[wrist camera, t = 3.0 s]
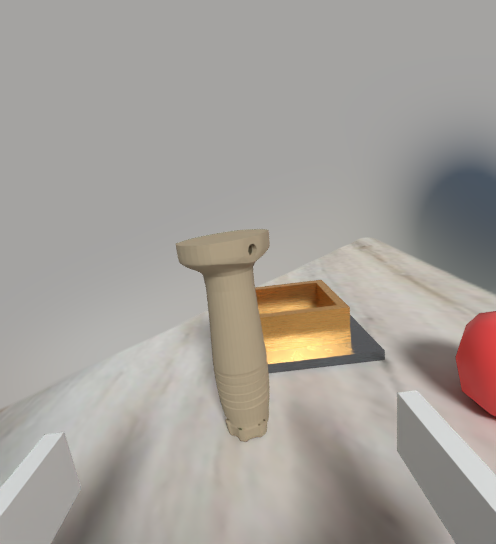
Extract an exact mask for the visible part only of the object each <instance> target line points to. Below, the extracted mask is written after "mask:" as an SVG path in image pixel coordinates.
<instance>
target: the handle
mask: <svg viewBox="0 0 496 544" xmlns="http://www.w3.org/2000/svg"><path fill="white" fill-rule="evenodd" d="M268 248H269V232H268V230H265V229H254V230H253V229H252V230H237V231H230V232H223V233H217V234H212V235H206V236H201V237H197V238H192V239H188V240H185V241H182V242H180V243H176V249H177V254H178V259H179V262H180V263H181V264H182V265H184V266H185V267H187V268H190V269H193V270H196V271H198V272H200V273H202V274H203V276H204V281H205V285H206V291H207V301H208V311H209V320H210V331H211V343H212V354H213V365H214V372H215V378H216V383H217V388H218V393H219V397H220V400H221V404H222V407H223V410H224V413H225V415H226V417H227V419H226V424H227V427H228V430H229V432H230V434H231V435H234V436H237V437H238V438H240V440H241V441H244V442H247V441H248V440H250V439H252V438H255V437H262V436H263V435H264V434H265V433H266V431H267V421H268V417H269V373H268V363H267V354H266V349H265V343H264V338H263V332H262V326H261V321H260V315H259V309H258V303H257V297H256V291H255V285H254V276H253V266H254V263H255V261H257V260H258V259H259V258H260V257H261V256H262V255H263V254H264V253H265V252H266V251H267V250H268Z"/></svg>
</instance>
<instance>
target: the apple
mask: <svg viewBox="0 0 496 544" xmlns="http://www.w3.org/2000/svg"><path fill="white" fill-rule="evenodd" d="M456 363H457V368H458V373H459V378H460V383H461V389H462V391H463V392H464V393H465V394H466V395H468V396H469V397H470V398H471V399H473V400H474V401H475V402H476V403H477V404H479V405H480V406H481V407H482V408H484V409H485V410H486V411H487V412H489V413H490V414H491V415H493V416H495V417H496V311H493V312H486V313H479V314H478V315H477V316H476V317H475V318H474V319H472V320H471V321H470V322H469V323H468V324H467V325H466V327H465V330H464V333H463V336H462V339H461V342H460V345H459V348H458V351H457V354H456Z"/></svg>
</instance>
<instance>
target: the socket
mask: <svg viewBox="0 0 496 544" xmlns="http://www.w3.org/2000/svg"><path fill="white" fill-rule="evenodd" d="M255 291H256V297H257V303H258V309H259V315H260V321H261V326H262V332H263V338H264V343H265V349H266V354H267V363H268V373H274V372H282V371H291V370H300V369H308V368H317V367H325V366H334V365H342V364H351V363H359V362H368V361H376V360H385V351H384V349H383V348H382V347H381V346H380V345H379V344H378V343H377V342H376V341H375V340H374V339H373V338H372V337H371V336H370V335H369V334H368V333H367V332H366V331H365V330H364V329H363V328H362V327H361V326H360V325H359V324H358V323H357V321H356V320H355V319H354V318H353V317H352V316H351V315H350V307H349V306H348V305H347V304H346V303H345V302H344V301H343V300H342V299H340V298H339V297H338V296H337V295H336V294H335V293H334V292H333V291H332V290H331V289H330V288H329V287H328V286H327V285H326V284H325V283H324V282H323V281H322V280H316V281H307V282H299V283H290V284H282V285H273V286H265V287H256V288H255Z"/></svg>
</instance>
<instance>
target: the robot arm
mask: <svg viewBox="0 0 496 544" xmlns="http://www.w3.org/2000/svg"><path fill="white" fill-rule="evenodd" d="M397 451H398V453H399V454H400V456H401V458H402V459H403V461H404V462H405V464H406V465H407V467H408V469H409V470H410V472H411V473H412V475H413V477H414V478H415V480H416V481H417V483H418V485H419V486H420V488H421V489H422V491H423V492H424V494H425V496H426V497H427V499H428V500H429V502H430V504H431V505H432V507H433V508H434V510H435V511H436V513H437V515H438V516H439V518H440V519H441V521H442V523H443V524H444V526H445V527H446V529H447V530H448V532H449V534H450V535H451V537H452V538H453V540H454V542H455V543H456V544H496V474H495V473H494V472H493V471H492V470H491V469H490V468H489V467H488V466H487V465H486V464H485V463H484V462H483V460H482V459H481V458H480V457H479V456H478V455H477V454H476V453H475V452H474V451H473V450H472V449H471V448H470V447H469V445H468V444H467V443H466V442H465V441H464V440H463V439H462V438H461V437H460V436H459V435H458V434H457V433H456V432H455V431H454V429H453V428H452V427H451V426H450V425H449V424H448V423H447V422H446V421H445V420H444V419H443V418H442V417H441V416H440V414H439V413H438V412H437V411H436V410H435V409H434V408H433V407H432V406H431V405H430V404H429V403H428V402H427V401H426V400H425V398H424V397H423V396H422V395H421V394H420V393H419V392H418V391H417V390H415V391H406V392H398V393H397ZM80 490H81V485H80V481H79V478H78V475H77V472H76V469H75V465H74V462H73V459H72V456H71V453H70V449H69V446H68V443H67V440H66V436H65V433H64V432H61V433H53V434H45V435H44V436H43V437H42V438H41V439H40V441H39V442H38V443H37V444H36V445H35V447H34V448H33V449H32V450H31V451H30V453H29V454H28V455H27V456H26V457H25V459H24V460H23V461H22V462H21V463H20V465H19V466H18V467H17V468H16V470H15V471H14V472H13V473H12V474H11V476H10V477H9V478H8V479H7V480H6V482H5V483H4V484H3V485H2V486H1V488H0V544H51V543H52V541H53V539H54V537H55V535H56V534H57V532H58V530H59V528H60V526H61V525H62V523H63V521H64V519H65V517H66V515H67V514H68V512H69V510H70V508H71V506H72V505H73V503H74V501H75V499H76V497H77V495H78V494H79V492H80Z"/></svg>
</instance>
